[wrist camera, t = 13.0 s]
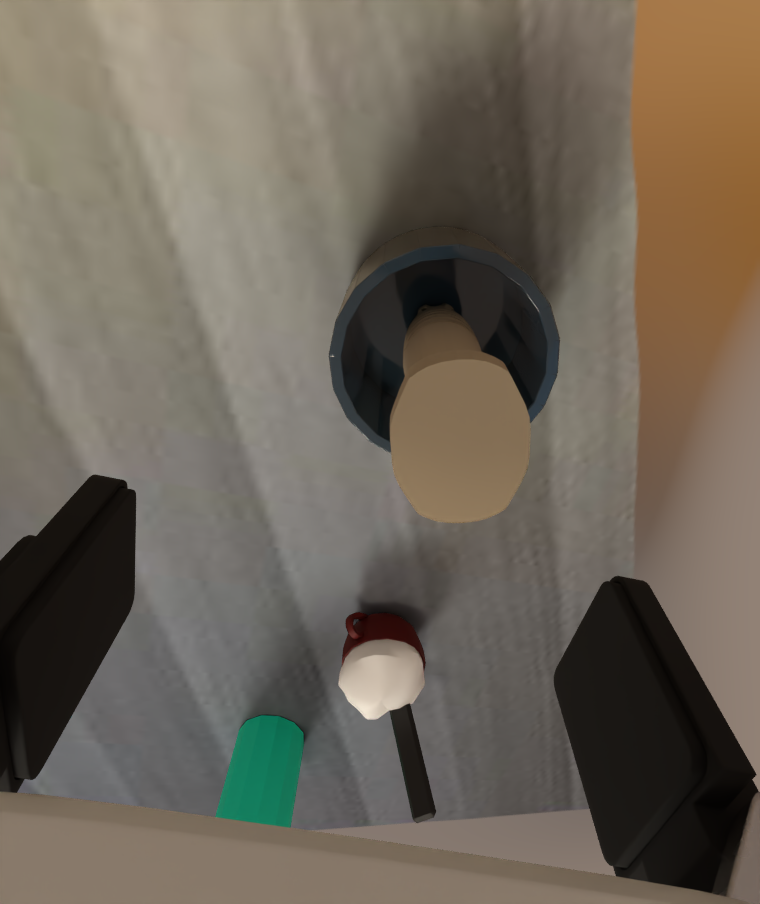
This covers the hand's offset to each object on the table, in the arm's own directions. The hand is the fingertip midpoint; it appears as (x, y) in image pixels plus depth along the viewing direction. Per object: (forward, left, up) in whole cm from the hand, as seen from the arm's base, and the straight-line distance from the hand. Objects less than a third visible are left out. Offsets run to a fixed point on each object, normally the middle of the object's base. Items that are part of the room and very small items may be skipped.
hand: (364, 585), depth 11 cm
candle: (+41, -1, -25) cm, 48 cm away
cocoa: (+26, +6, -25) cm, 36 cm away
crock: (+1, +3, -25) cm, 25 cm away
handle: (+1, +3, -24) cm, 24 cm away
